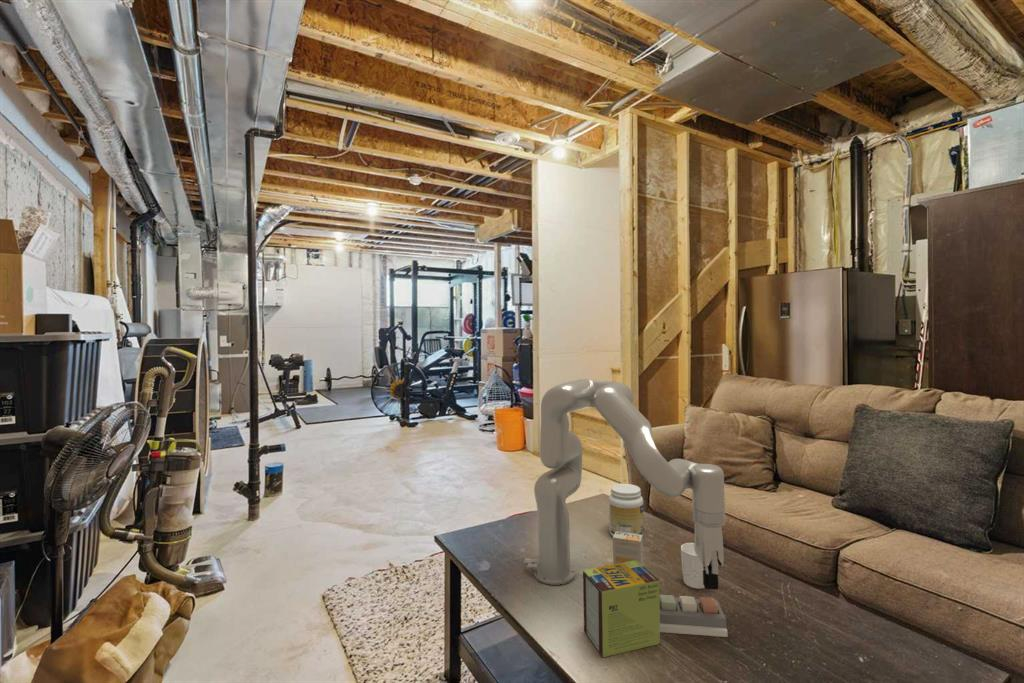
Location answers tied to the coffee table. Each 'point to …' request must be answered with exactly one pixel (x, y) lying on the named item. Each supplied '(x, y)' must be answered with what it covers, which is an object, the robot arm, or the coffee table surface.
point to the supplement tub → (626, 509)
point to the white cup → (691, 567)
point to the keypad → (693, 621)
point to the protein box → (621, 607)
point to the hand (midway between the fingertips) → (710, 587)
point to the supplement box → (627, 547)
